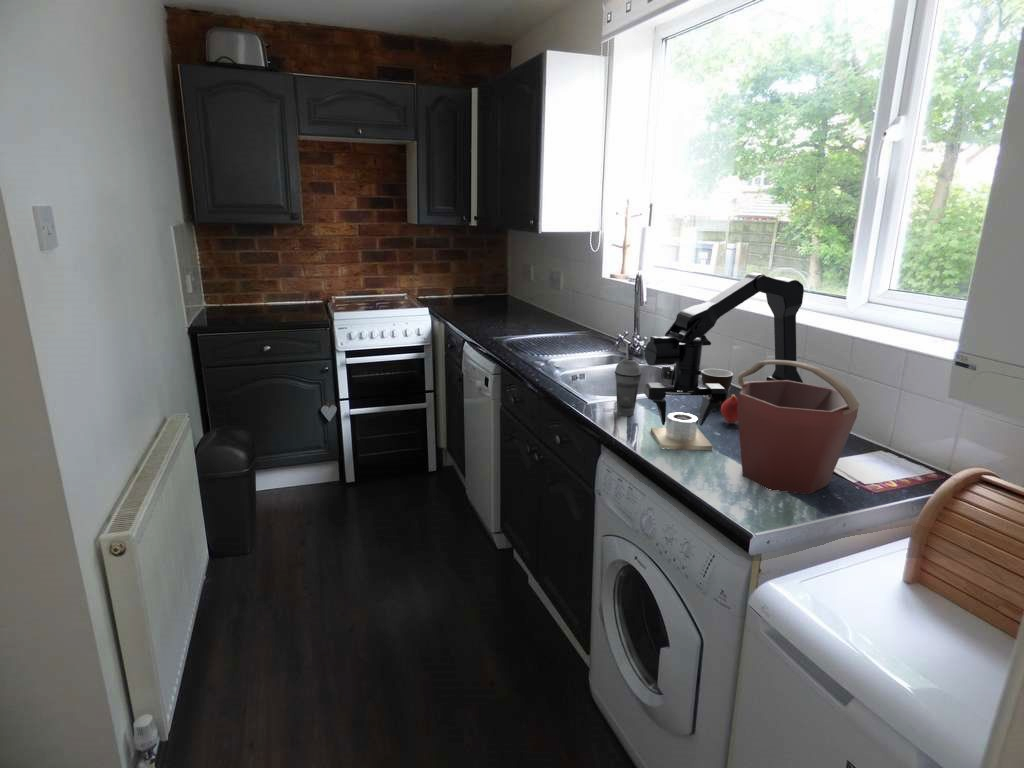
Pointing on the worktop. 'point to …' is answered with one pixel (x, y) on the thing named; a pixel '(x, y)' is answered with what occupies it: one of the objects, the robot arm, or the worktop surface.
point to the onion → (730, 409)
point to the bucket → (793, 429)
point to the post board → (696, 444)
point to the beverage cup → (627, 384)
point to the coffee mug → (717, 380)
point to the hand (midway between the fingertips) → (681, 425)
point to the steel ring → (681, 427)
